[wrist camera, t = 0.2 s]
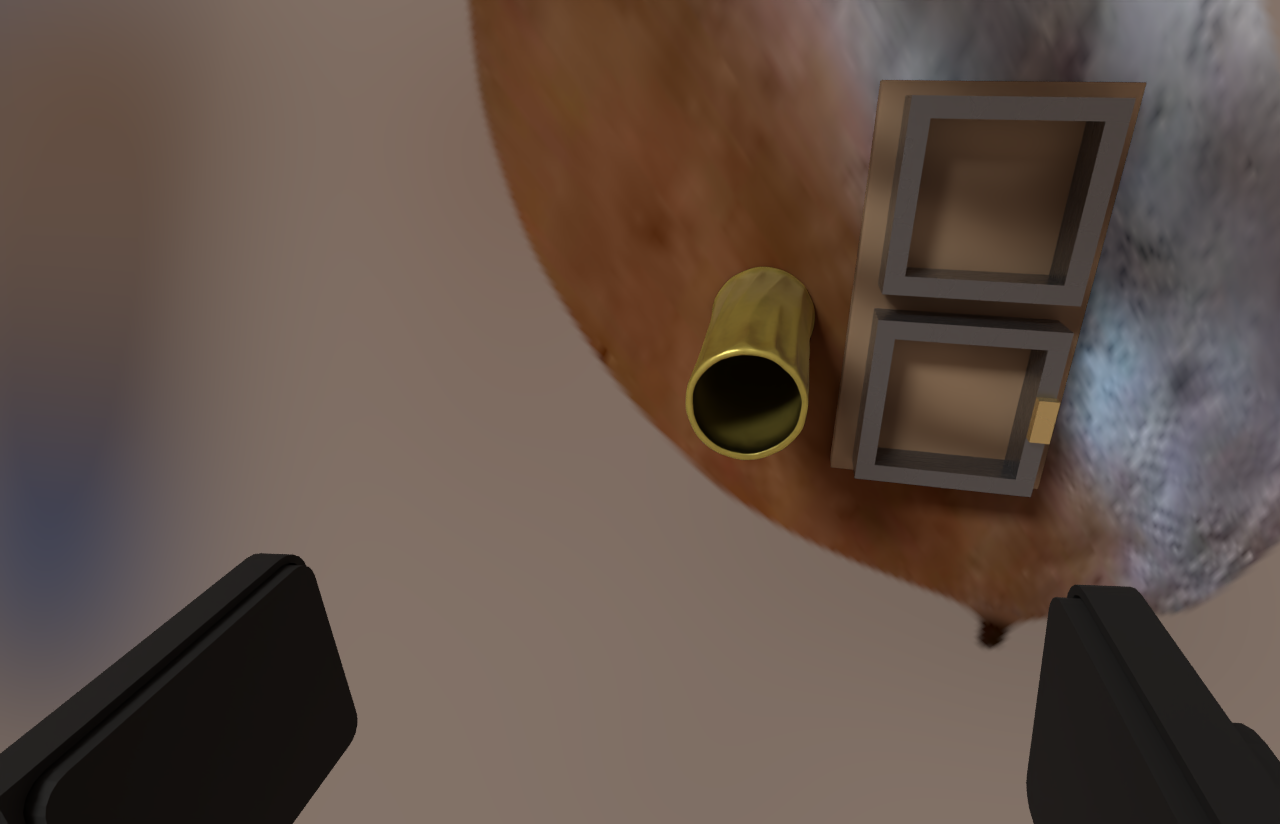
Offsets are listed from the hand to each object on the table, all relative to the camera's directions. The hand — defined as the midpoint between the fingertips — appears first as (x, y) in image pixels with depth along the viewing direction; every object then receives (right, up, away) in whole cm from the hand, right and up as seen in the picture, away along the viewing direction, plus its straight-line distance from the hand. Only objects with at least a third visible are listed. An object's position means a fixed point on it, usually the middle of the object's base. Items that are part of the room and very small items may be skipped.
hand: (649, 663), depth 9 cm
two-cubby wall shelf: (+18, +9, +30) cm, 36 cm away
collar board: (+18, +10, +31) cm, 38 cm away
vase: (+7, +9, +34) cm, 36 cm away
